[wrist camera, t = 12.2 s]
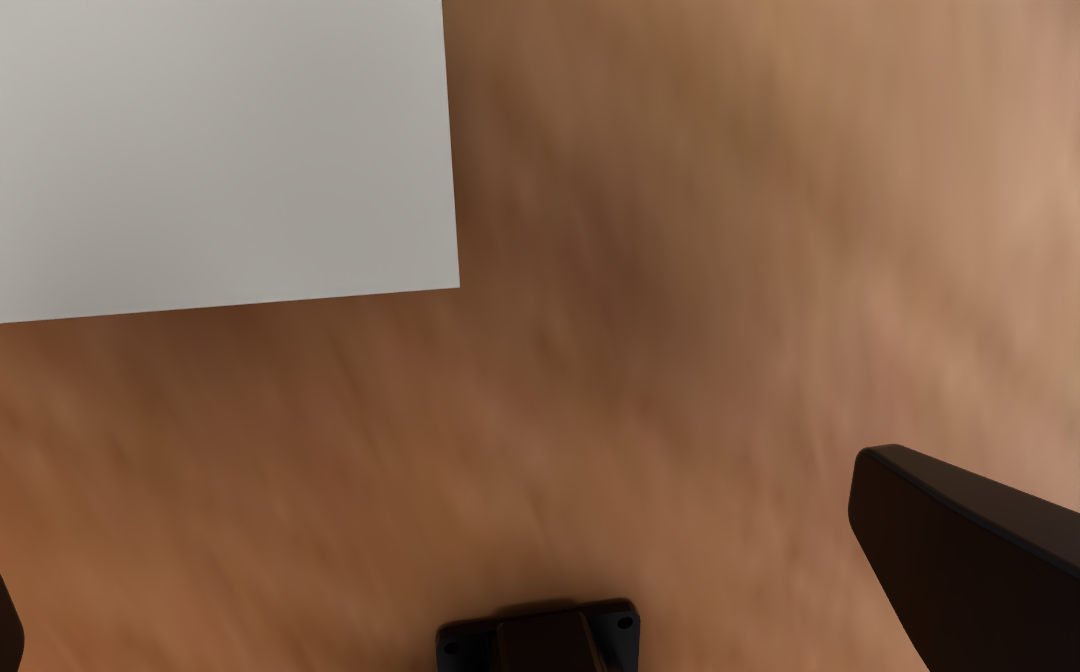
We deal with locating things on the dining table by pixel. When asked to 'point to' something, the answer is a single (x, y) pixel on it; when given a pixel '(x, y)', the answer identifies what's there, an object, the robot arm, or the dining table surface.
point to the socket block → (221, 153)
